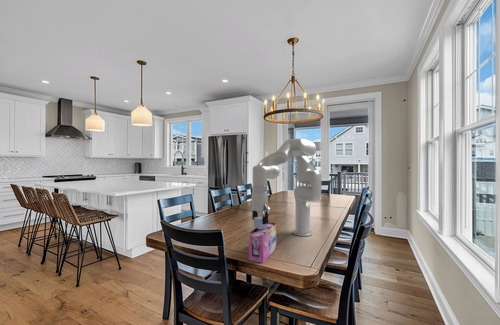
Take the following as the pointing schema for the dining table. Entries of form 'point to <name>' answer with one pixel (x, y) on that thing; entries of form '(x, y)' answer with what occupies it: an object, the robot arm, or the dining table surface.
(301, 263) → the dining table surface
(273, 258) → the dining table surface
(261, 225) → the slate cube
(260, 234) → the gum box
